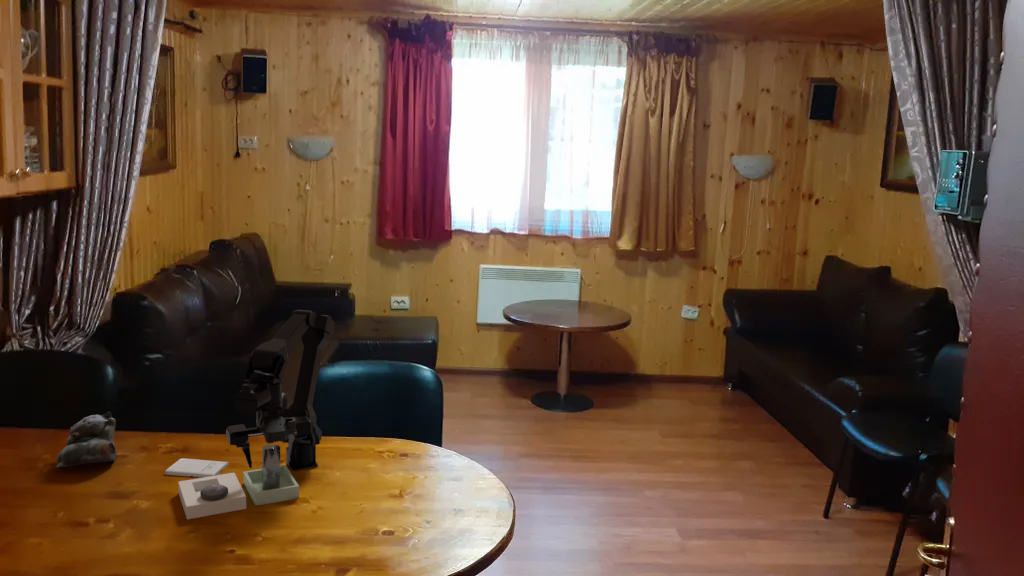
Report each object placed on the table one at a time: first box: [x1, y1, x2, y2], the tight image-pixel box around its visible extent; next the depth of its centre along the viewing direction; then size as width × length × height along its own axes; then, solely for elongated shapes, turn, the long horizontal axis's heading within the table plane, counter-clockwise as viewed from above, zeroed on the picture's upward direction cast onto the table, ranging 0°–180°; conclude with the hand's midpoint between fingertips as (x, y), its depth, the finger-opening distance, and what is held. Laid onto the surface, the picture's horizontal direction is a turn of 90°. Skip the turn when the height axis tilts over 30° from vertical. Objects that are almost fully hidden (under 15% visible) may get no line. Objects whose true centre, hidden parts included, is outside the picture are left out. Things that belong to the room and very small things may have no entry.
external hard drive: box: [164, 458, 229, 478], centre depth 201 cm, size 2×8×12 cm
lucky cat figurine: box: [54, 411, 118, 470], centre depth 202 cm, size 15×12×14 cm
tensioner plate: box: [177, 472, 247, 520], centre depth 184 cm, size 12×14×5 cm
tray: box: [242, 464, 300, 507], centre depth 191 cm, size 10×13×3 cm
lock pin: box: [261, 444, 281, 491], centre depth 190 cm, size 4×4×10 cm
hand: (270, 464), depth 190 cm, fingers open, 9 cm apart
